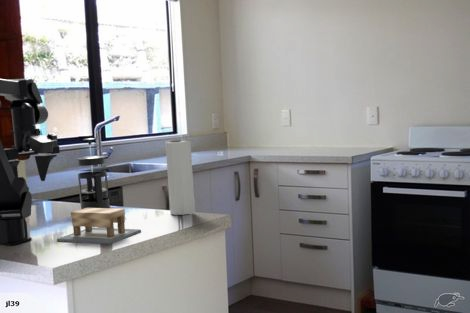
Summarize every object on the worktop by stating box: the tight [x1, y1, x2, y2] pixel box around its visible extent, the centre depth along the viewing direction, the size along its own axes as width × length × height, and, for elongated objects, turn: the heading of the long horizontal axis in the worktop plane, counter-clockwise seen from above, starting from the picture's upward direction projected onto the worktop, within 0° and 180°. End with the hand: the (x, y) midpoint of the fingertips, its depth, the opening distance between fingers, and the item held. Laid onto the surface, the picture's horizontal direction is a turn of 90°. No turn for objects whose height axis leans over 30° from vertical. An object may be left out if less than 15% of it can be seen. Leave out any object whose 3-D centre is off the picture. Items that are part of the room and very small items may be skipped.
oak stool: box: [70, 207, 126, 238], centre depth 147 cm, size 12×6×6 cm, turn 64°
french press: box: [76, 137, 111, 209], centre depth 187 cm, size 12×9×23 cm
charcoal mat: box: [56, 227, 142, 245], centre depth 148 cm, size 13×16×1 cm
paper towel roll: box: [164, 140, 196, 216], centre depth 171 cm, size 7×6×21 cm
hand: (30, 183), depth 159 cm, fingers open, 9 cm apart
